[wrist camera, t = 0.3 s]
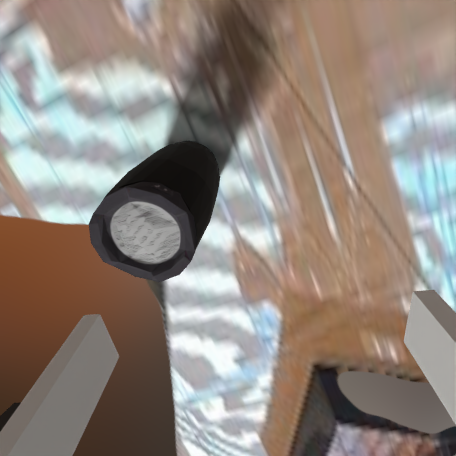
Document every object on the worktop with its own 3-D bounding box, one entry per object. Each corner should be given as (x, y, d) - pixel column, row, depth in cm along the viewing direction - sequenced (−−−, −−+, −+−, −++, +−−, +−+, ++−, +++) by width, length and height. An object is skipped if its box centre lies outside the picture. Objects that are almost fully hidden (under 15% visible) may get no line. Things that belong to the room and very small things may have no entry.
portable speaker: (150, 186, 39) (71, 265, 21) (172, 122, 35) (97, 153, 17) (206, 211, 40) (175, 305, 22) (234, 152, 36) (222, 209, 18)
